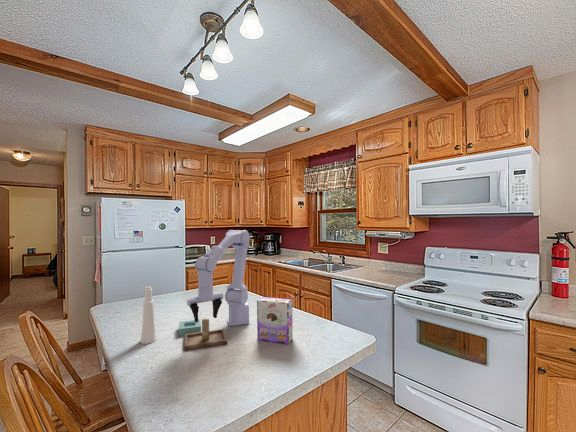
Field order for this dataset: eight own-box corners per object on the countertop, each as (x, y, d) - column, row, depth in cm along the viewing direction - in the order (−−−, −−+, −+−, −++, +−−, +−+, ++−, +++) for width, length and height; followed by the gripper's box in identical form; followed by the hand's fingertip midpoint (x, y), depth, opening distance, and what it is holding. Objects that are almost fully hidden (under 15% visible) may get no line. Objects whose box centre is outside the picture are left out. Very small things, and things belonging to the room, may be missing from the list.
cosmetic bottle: (138, 344, 112) (138, 289, 112) (142, 338, 118) (142, 285, 118) (155, 343, 113) (155, 288, 113) (157, 336, 119) (157, 284, 119)
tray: (224, 332, 123) (224, 328, 123) (227, 344, 112) (227, 340, 112) (184, 337, 118) (184, 333, 118) (184, 350, 107) (184, 346, 107)
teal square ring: (200, 325, 131) (200, 319, 131) (201, 333, 123) (200, 326, 123) (179, 328, 128) (179, 321, 128) (178, 336, 120) (178, 329, 120)
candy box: (293, 338, 117) (293, 298, 117) (288, 344, 111) (288, 303, 112) (262, 334, 122) (262, 296, 122) (256, 340, 116) (256, 299, 116)
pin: (207, 337, 117) (207, 317, 117) (210, 339, 115) (210, 319, 115) (200, 339, 115) (200, 319, 115) (203, 341, 113) (203, 321, 113)
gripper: (218, 281, 123) (218, 313, 123) (184, 286, 114) (184, 320, 114) (225, 284, 117) (225, 317, 117) (189, 290, 108) (190, 326, 108)
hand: (205, 319), depth 115 cm, fingers open, 7 cm apart
